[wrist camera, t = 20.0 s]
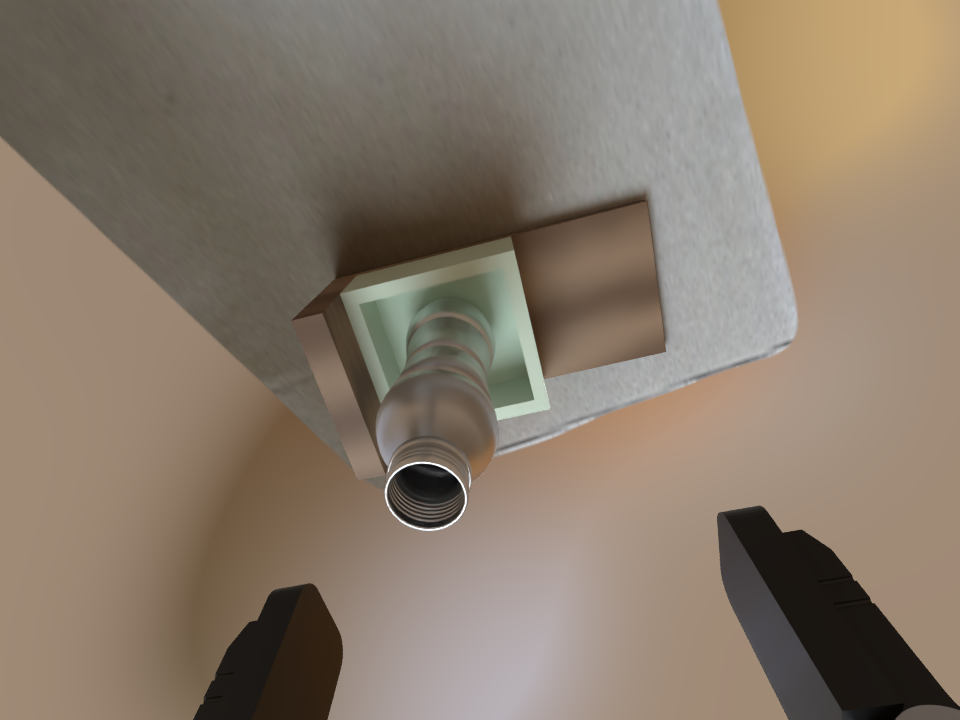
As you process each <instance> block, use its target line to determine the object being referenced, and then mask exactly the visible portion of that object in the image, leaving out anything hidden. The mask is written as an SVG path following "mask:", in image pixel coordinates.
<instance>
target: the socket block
mask: <svg viewBox="0 0 960 720" xmlns="http://www.w3.org/2000/svg"><path fill="white" fill-rule="evenodd" d="M340 296H341V299H342V301H343V304H344V307H345V309H346V312H347V315H348V317H349V320H350V323H351V325H352V328H353V331H354V334H355V336H356V339H357V342H358V344H359V347H360V350H361V352H362V355H363V358H364V360H365V363H366V366H367V369H368V371H369V374H370V377H371V379H372V382H373V385H374V387H375V390H376V393H377V395H378V398H379V401H380V404H381V403H382V401H383V400H384V398H385V396H386V394H387V393H388V391H389V390H390V389H391V387H392V386H393V385H394V383H395V382H396V381H397V379H398V378H399V377H400V375H401V373H402V371H403V369H404V367H405V365H406V358H407V355H406V336H407V331H408V327H409V325H410V323H411V321H412V319H413V318H414V317H415V315H416V314H417V313H418V312H419V311H420V310H421V309H423V308H424V307H425V306H426V305H428V304H429V303H431V302H433V301H436V300H439V299H443V298H457V299H461V300H464V301H467V302H469V303H471V304H473V305H474V306H475V307H477V308H478V309H479V310H480V311H481V312H482V313H483V314H484V315H485V317H486V319H487V320H488V322H489V324H490V326H491V328H492V330H493V333H494V336H495V343H496V346H495V355H494V358H493V362H492V365H491V368H490V370H489V373H488V379H487V381H488V389H489V394H490V397H491V400H492V403H493V406H494V409H495V412H496V416H497V420H501V419H506V418H511V417H515V416H520V415H524V414H529V413H534V412H538V411H543V410H548V409H551V408H550V404H549V400H548V395H547V391H546V387H545V382H544V378H543V374H542V369H541V365H540V360H539V356H538V352H537V347H536V343H535V339H534V334H533V330H532V326H531V321H530V317H529V313H528V308H527V304H526V300H525V295H524V291H523V286H522V282H521V278H520V273H519V269H518V265H517V260H516V256H515V252H514V247H513V243H512V239H511V236H510V237H506V238H502V239H498V240H494V241H490V242H486V243H483V244H479V245H475V246H471V247H467V248H463V249H459V250H455V251H451V252H447V253H443V254H439V255H435V256H432V257H428V258H424V259H420V260H416V261H412V262H408V263H404V264H400V265H396V266H392V267H388V268H384V269H381V270H377V271H373V272H369V273H365V274H361V275H357V276H356V277H355V278H354V279H353V280H352V281H351V282H350V283H349V284H348V286H347V287H346V288H345V289H344V290H343V291H342V292H341V293H340Z"/></svg>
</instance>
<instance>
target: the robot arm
mask: <svg viewBox="0 0 960 720" xmlns="http://www.w3.org/2000/svg"><path fill="white" fill-rule="evenodd" d="M717 524H718V538H719V552H720V566H721V575H722V580H723V584H724V587H725V591H726V593H727V596H728V599H729V601H730V604H731V606H732V608H733V610H734V612H735V614H736V616H737V618H738V620H739V622H740V623H741V626H742V628H743V630H744V632H745V634H746V636H747V638H748V640H749V642H750V644H751V646H752V648H753V650H754V652H755V654H756V656H757V658H758V660H759V662H760V664H761V666H762V668H763V669H764V672H765V674H766V676H767V678H768V679H769V682H770V684H771V686H772V688H773V689H774V691H775V693H776V695H777V697H778V699H779V701H780V703H781V705H782V707H783V709H784V711H785V713H786V715H787V717H788V719H789V720H960V707H959V706H958V705H957V704H956V703H955V702H954V701H953V700H952V699H951V698H950V697H949V695H948V694H947V693H946V692H945V691H944V689H943V688H942V687H941V686H940V685H939V683H938V682H937V681H936V680H935V678H934V677H933V676H932V674H931V673H930V672H929V671H928V669H927V668H926V667H925V666H924V664H923V663H922V662H921V661H920V659H919V658H918V657H917V656H916V655H915V653H914V652H913V651H912V650H911V649H910V647H909V646H908V645H907V643H906V642H905V641H904V640H903V638H902V637H901V636H900V635H899V633H898V632H897V631H896V630H895V628H894V627H893V626H892V625H891V623H890V622H889V621H888V620H887V618H886V617H885V616H884V615H883V614H882V612H881V611H880V610H879V608H878V607H877V606H876V605H875V604H873V603H872V602H871V600H870V597H869V596H868V595H867V593H866V592H865V591H864V590H863V588H862V587H861V586H860V585H859V583H858V582H857V581H854V579H853V577H852V575H851V573H850V572H849V571H848V570H847V569H846V567H845V566H844V565H843V563H842V562H841V561H840V560H839V558H838V557H837V556H836V555H835V553H834V552H833V551H832V550H831V549H830V548H828V547H827V546H825V545H824V544H822V543H821V542H819V541H818V540H816V539H815V538H814V537H812V536H810V535H809V534H808V533H806V532H805V531H803V530H797V531H790V532H785V533H782V532H781V530H780V529H779V527H778V526H777V525H776V523H775V522H774V520H773V519H772V518H771V516H770V515H769V513H768V512H767V511H766V510H765V509H764V508H763V507H762V506H755V507H749V508H743V509H737V510H731V511H726V512H720V513H718V516H717ZM342 658H343V646H342V639H341V635H340V633H339V630H338V628H337V626H336V624H335V622H334V620H333V618H332V616H331V614H330V613H329V611H328V609H327V607H326V605H325V603H324V601H323V599H322V597H321V595H320V593H319V591H318V589H317V588H316V587H315V585H313V584H310V583H309V584H304V585H298V586H293V587H287V588H281V589H276V590H274V591H272V592H271V594H270V595H269V596H268V598H267V601H266V603H265V605H264V607H263V609H262V612H261V614H260V616H259V618H258V620H257V621H252V622H249V623H248V624H247V625H246V627H245V628H244V629H243V630H242V632H241V633H240V634H239V635H238V637H237V638H236V639H235V640H234V641H233V642H232V644H231V645H230V646H229V647H228V649H227V651H226V653H225V655H224V657H223V659H222V662H221V664H220V666H219V668H218V670H217V672H216V674H215V680H214V681H212V682H211V684H210V686H209V688H208V690H207V692H206V694H205V696H204V703H203V704H202V705H200V707H199V709H198V711H197V713H196V715H195V717H194V719H193V720H327V719H328V716H329V712H330V707H331V704H332V700H333V697H334V692H335V689H336V685H337V681H338V677H339V674H340V670H341V665H342Z"/></svg>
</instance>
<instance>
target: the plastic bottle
mask: <svg viewBox="0 0 960 720" xmlns="http://www.w3.org/2000/svg"><path fill="white" fill-rule="evenodd" d="M495 346H496V343H495V336H494V333H493V330H492V328H491V326H490V324H489V322H488V320H487V319H486V317H485V315H484V314H483V313H482V312H481V311H480V310H479V309H478V308H477V307H475V306H474V305H473V304H471V303H469V302H467V301H464V300H461V299H457V298H443V299H439V300H436V301H433V302H431V303H429V304H428V305H426V306H425V307H424V308H423V309H421V310H420V311H419V312H418V313H417V314H416V315H415V317H414V318H413V319H412V321H411V323H410V325H409V327H408V331H407V336H406V355H407V358H406V365H405V367H404V369H403V371H402V373H401V375H400V377H399V378H398V379H397V381H396V382H395V383H394V385H393V386H392V387H391V389H390V390H389V391H388V393H387V394H386V396H385V398H384V400H383V401H382V403H381V406H380V408H379V410H378V412H377V418H376V437H377V443H378V447H379V451H380V454H381V456H382V458H383V460H384V462H385V463H386V465H387V466H388V468H387V478H386V481H385V486H384V498H385V502H386V505H387V507H388V509H389V511H390V512H391V513H392V514H393V516H394V517H395V518H396V519H398V520H399V521H400V522H402V523H403V524H405V525H406V526H409V527H411V528H414V529H418V530H424V531H434V530H440V529H444V528H447V527H449V526H451V525H452V524H454V523H455V522H457V521H458V520H459V518H461V516H462V515H463V513H464V512H465V510H466V507H467V504H468V497H469V492H470V488H471V485H472V482H473V481H475V480H477V479H478V478H479V477H480V476H481V475H482V474H483V473H484V472H485V471H486V469H487V467H488V466H489V464H490V462H491V460H492V458H493V456H494V454H495V452H496V449H497V446H498V440H499V429H498V422H497V416H496V412H495V409H494V406H493V403H492V400H491V397H490V394H489V389H488V381H487V379H488V373H489V370H490V368H491V365H492V362H493V358H494V355H495Z"/></svg>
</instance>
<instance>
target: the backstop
mask: <svg viewBox="0 0 960 720" xmlns="http://www.w3.org/2000/svg"><path fill="white" fill-rule="evenodd" d="M510 236H511V239H512V243H513V247H514V252H515V256H516V260H517V265H518V269H519V273H520V278H521V282H522V286H523V291H524V295H525V300H526V304H527V308H528V313H529V317H530V321H531V326H532V330H533V334H534V339H535V343H536V347H537V352H538V356H539V360H540V365H541V369H542V374H543V378H544V379H546V378H551V377H555V376H560V375H564V374H569V373H573V372H578V371H582V370H587V369H591V368H596V367H600V366H604V365H609V364H613V363H618V362H622V361H627V360H631V359H636V358H640V357H645V356H649V355H654V354H658V353H663V352H666V348H665V340H664V332H663V324H662V316H661V308H660V300H659V292H658V285H657V277H656V269H655V261H654V253H653V245H652V237H651V229H650V221H649V213H648V205H647V201H645V200H642V201H638V202H634V203H630V204H626V205H623V206H619V207H615V208H611V209H607V210H603V211H599V212H595V213H591V214H587V215H583V216H579V217H576V218H572V219H568V220H564V221H560V222H556V223H552V224H548V225H544V226H540V227H536V228H532V229H529V230H525V231H521V232H517V233H513V234H509V235H505V236H501V237H497V238H493V239H489V240H485V241H482V242H478V243H474V244H470V245H466V246H462V247H458V248H454V249H450V250H446V251H442V252H438V253H435V254H431V255H427V256H423V257H419V258H415V259H411V260H407V261H403V262H399V263H395V264H391V265H388V266H384V267H380V268H376V269H372V270H368V271H364V272H360V273H356V274H352V275H348V276H344V277H341V278H337V279H334V280H333V281H332V282H331V283H330V284H329V285H328V286H327V287H326V288H325V289H324V290H323V291H322V292H321V293H320V294H319V295H318V296H317V297H316V298H315V299H314V300H312V301H311V302H310V303H309V304H308V305H307V306H306V307H305V308H304V309H303V310H302V311H301V312H300V313H299V314H298V315H297V316H296V317H295V318H294V319H293V320H292V324H293V326H294V329H295V331H296V333H297V336H298V338H299V341H300V343H301V345H302V348H303V350H304V353H305V355H306V357H307V360H308V362H309V364H310V367H311V369H312V372H313V374H314V376H315V379H316V381H317V384H318V386H319V388H320V391H321V393H322V396H323V398H324V400H325V403H326V405H327V408H328V410H329V412H330V415H331V417H332V420H333V422H334V424H335V427H336V429H337V432H338V434H339V436H340V439H341V441H342V444H343V446H344V448H345V451H346V453H347V456H348V458H349V460H350V463H351V465H352V467H353V470H354V472H355V475H356V477H357V479H358V480H363V479H368V478H372V477H377V476H382V475H386V471H387V468H388V466H387V465H386V463H385V462H384V460H383V458H382V456H381V454H380V451H379V447H378V443H377V437H376V418H377V412H378V410H379V408H380V406H381V404H380V401H379V398H378V395H377V393H376V390H375V387H374V385H373V382H372V379H371V377H370V374H369V371H368V369H367V366H366V363H365V360H364V358H363V355H362V352H361V350H360V347H359V344H358V342H357V339H356V336H355V334H354V331H353V328H352V325H351V323H350V320H349V317H348V315H347V312H346V309H345V307H344V304H343V301H342V299H341V296H340V293H341V292H342V291H343V290H344V289H345V288H346V287H347V286H348V284H349V283H350V282H351V281H352V280H353V279H354V278H355V277H356V276H357V275H361V274H365V273H369V272H373V271H377V270H381V269H384V268H388V267H392V266H396V265H400V264H404V263H408V262H412V261H416V260H420V259H424V258H428V257H432V256H435V255H439V254H443V253H447V252H451V251H455V250H459V249H463V248H467V247H471V246H475V245H479V244H483V243H486V242H490V241H494V240H498V239H502V238H506V237H510Z"/></svg>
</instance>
